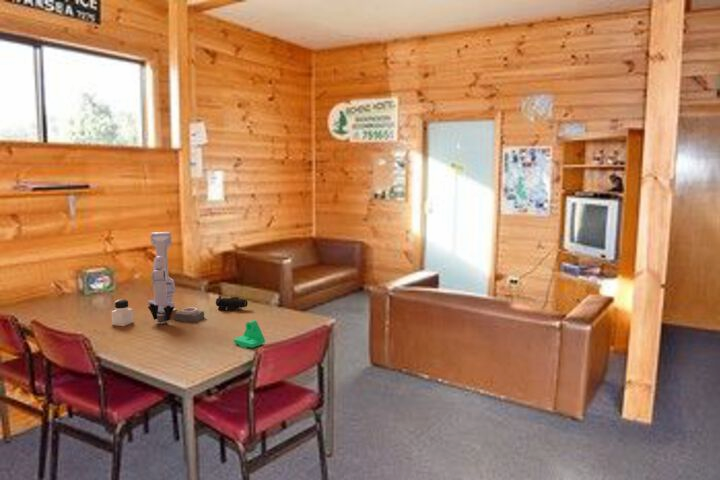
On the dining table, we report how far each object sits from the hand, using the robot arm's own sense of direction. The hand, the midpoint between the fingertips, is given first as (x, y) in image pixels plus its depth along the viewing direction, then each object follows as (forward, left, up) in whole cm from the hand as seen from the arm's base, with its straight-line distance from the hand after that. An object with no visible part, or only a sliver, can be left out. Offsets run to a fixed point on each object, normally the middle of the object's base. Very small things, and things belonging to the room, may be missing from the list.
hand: (162, 319), depth 258 cm
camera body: (+8, +11, -2) cm, 14 cm away
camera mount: (+57, -13, -3) cm, 59 cm away
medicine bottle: (-19, -6, -2) cm, 20 cm away
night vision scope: (+19, +33, -2) cm, 38 cm away
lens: (0, 0, -2) cm, 2 cm away
